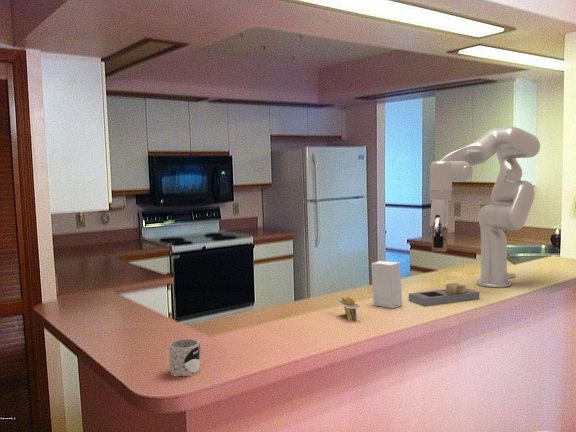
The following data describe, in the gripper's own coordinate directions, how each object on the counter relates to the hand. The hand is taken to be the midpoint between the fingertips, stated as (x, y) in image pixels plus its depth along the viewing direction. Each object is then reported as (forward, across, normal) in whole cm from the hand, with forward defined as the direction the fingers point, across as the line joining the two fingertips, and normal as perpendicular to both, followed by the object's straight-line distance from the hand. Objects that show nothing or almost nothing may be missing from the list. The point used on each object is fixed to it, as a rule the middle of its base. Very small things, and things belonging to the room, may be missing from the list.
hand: (439, 246), depth 189 cm
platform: (+20, +39, -20) cm, 48 cm away
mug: (+22, +94, -40) cm, 105 cm away
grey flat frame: (+18, +5, +3) cm, 19 cm away
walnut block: (+2, 0, 0) cm, 2 cm away
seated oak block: (+18, +1, +6) cm, 19 cm away
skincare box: (+19, +20, -14) cm, 30 cm away
